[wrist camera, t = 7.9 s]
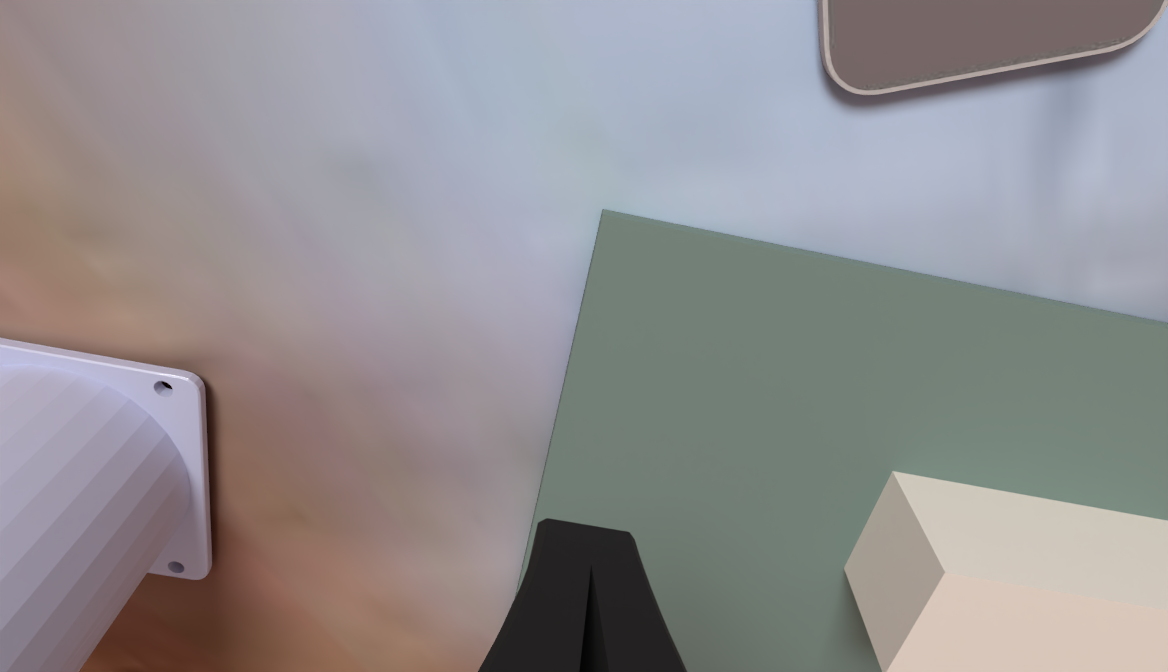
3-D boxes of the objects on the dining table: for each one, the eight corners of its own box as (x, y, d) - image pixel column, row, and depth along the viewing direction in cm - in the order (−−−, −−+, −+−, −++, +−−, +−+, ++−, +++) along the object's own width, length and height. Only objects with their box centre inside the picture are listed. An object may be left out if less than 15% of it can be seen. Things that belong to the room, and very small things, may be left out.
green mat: (506, 635, 27) (505, 645, 27) (602, 209, 20) (602, 214, 19) (1089, 726, 29) (1095, 736, 29) (1384, 366, 21) (1397, 374, 21)
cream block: (884, 676, 21) (1217, 729, 22) (944, 572, 19) (1307, 634, 20) (843, 568, 25) (1133, 616, 26) (892, 471, 23) (1203, 527, 24)
